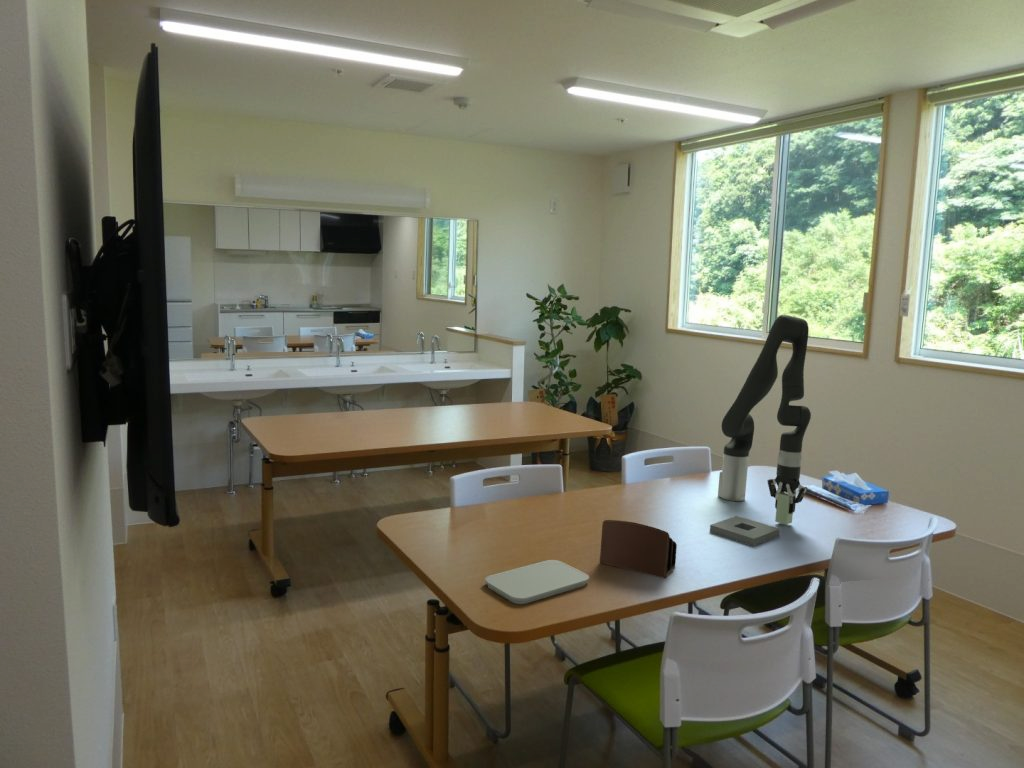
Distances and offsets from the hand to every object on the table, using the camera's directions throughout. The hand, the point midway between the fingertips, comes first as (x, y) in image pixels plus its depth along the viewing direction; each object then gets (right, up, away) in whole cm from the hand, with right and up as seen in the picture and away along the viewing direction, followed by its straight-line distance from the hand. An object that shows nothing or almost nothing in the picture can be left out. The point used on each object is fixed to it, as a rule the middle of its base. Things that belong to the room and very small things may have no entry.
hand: (784, 511), depth 256 cm
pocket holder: (-17, -6, -10) cm, 21 cm away
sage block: (0, -4, +1) cm, 4 cm away
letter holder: (-57, -9, -41) cm, 71 cm away
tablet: (-87, -10, -57) cm, 104 cm away
